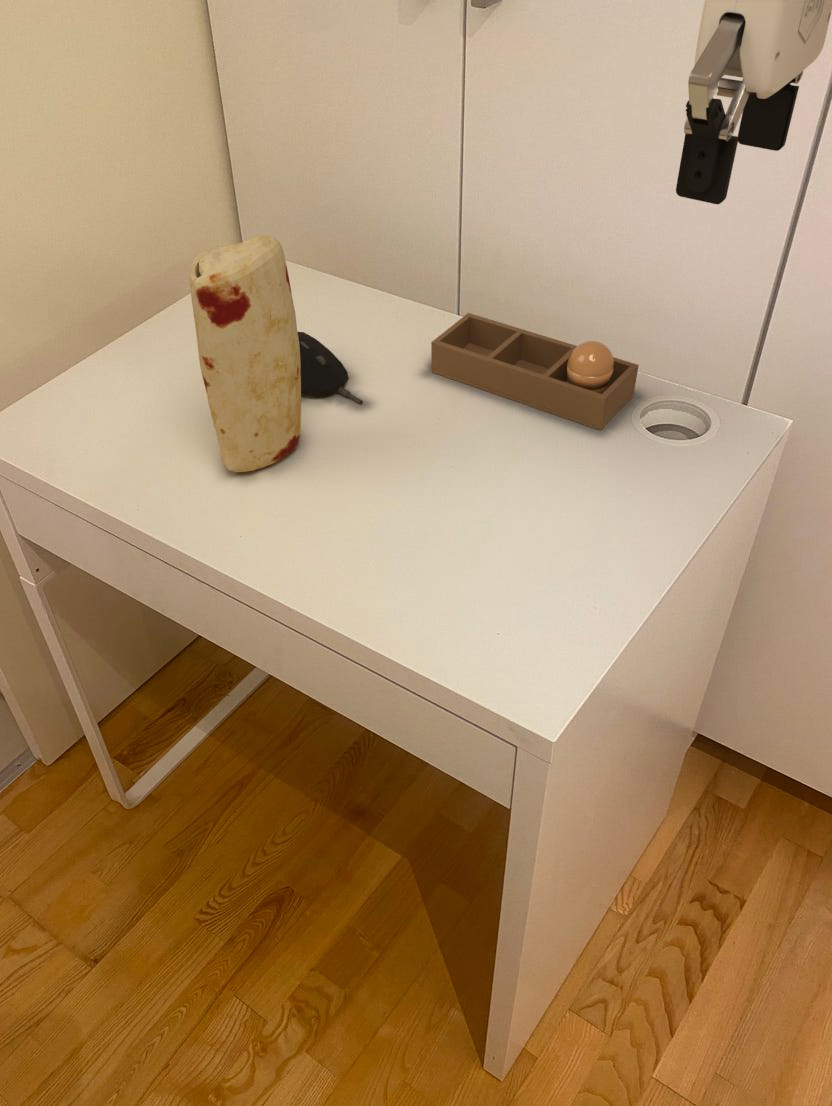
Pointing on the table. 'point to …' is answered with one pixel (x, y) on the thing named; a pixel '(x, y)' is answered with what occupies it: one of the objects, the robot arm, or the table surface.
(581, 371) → the egg
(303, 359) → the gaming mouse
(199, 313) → the food model
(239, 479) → the table surface
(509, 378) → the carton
